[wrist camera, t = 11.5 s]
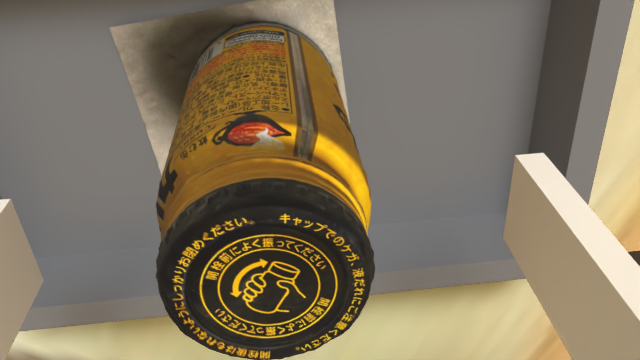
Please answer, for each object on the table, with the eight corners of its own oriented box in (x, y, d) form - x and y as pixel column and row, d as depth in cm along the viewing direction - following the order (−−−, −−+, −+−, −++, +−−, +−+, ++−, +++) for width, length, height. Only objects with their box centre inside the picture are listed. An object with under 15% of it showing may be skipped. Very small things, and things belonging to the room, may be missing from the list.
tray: (596, -170, 21) (673, -171, 17) (531, 216, 29) (572, 273, 26) (-150, -121, 19) (-251, -110, 16) (16, 267, 28) (-22, 335, 24)
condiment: (353, 152, 25) (417, 365, 15) (166, 185, 25) (103, 420, 15) (331, -15, 22) (395, 120, 11) (110, 24, 22) (-23, 194, 11)
